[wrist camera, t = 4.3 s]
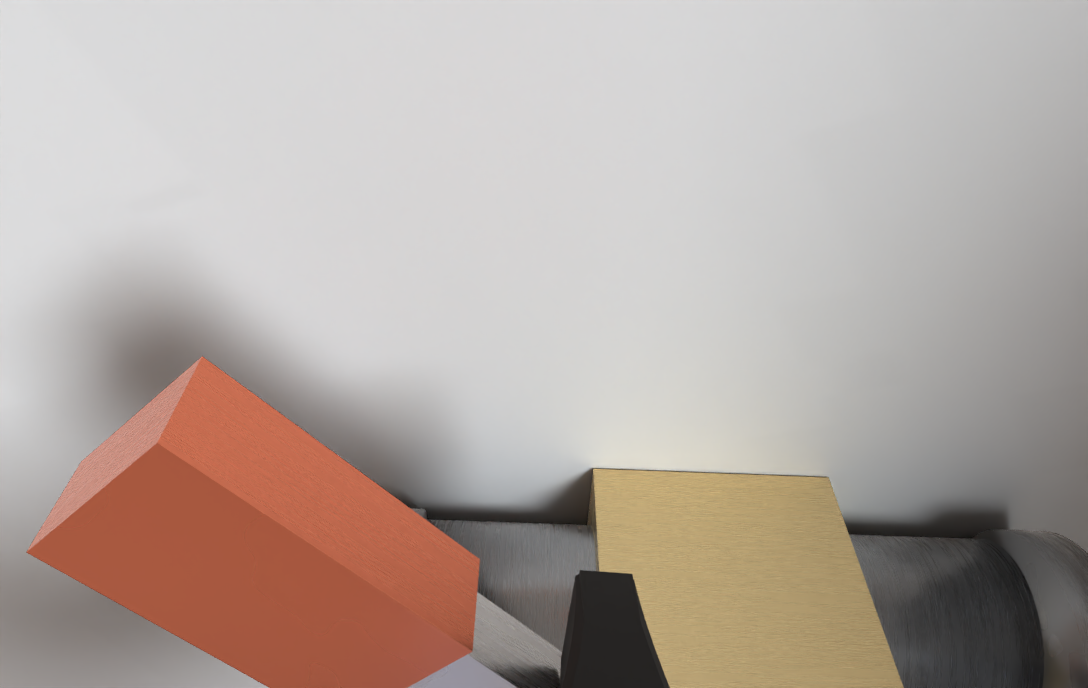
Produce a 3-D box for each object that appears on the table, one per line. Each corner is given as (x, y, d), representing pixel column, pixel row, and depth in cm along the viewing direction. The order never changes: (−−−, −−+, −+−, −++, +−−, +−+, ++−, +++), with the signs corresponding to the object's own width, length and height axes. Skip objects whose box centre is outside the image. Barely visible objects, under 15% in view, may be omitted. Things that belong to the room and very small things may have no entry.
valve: (391, 619, 22) (351, 862, 17) (378, 450, 19) (323, 693, 14) (958, 638, 22) (1063, 880, 18) (1042, 475, 19) (1198, 720, 14)
